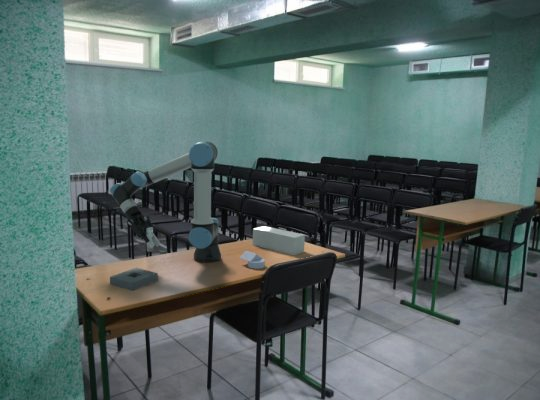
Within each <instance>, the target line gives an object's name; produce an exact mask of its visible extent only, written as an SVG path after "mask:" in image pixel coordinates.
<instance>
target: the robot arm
mask: <svg viewBox="0 0 540 400" xmlns="http://www.w3.org/2000/svg"><path fill="white" fill-rule="evenodd" d="M218 153H219V151H218V147H217V146H216V145H215V143H213V142H210V141H198V142H196V143H194V144H193V145H192V146H191V147H190V150H189V152H188V153H185V154H183V155H181V156H178V157H176V158H174V159H171V160H169V161H167V162H165V163H162V164H161V165H160V164H159V165H158V166H155V167H154V168H153V167H152V168H151V169H149V170H146V171H143V172H141V171H139V170H138V171H136V172H134V173H132V174H131V175H130V177H129V178H127V179H126V181H124V182H123V183H121V182H118V183H115V184H114V185H112V186H111V187H110V189H109V193H110V194H111V196H112V198H113V200H115V202H116V204H118V207H119V208H120V209H121V210H122V212H123V214H124V215H125V217H126V218H127V219H128V222H127V223H126V224H127V225H128V226H129V227H130V228H131V229H132V231H133V232H134V234H135V235H136V237H138V238H140V239H141V240H144V241H145V243H146V244H147V243H148V245H149V246H150V248H153V249H154V247H155V246H156V247H159V245H161V242H160V241H159V239H158V237H157V235H156V234H155V233H156V232H157V230H156V228H155V226H154V225H153V223H152V222H151V219H150V216H148V215H147V216H144V215H143V214H142V211H141V209H140V208H139V207H140V206H138V205H137V204H138V203H136V202H135V200H134V199H133V197H132V196H133V195H134V194H135V193H137V192H138V191H140V190H141V189H144V188H146V187H149V186H151V185H153V184H155V183H158V182H160V181H162V180H165V179H167V178H170V177H172V176H174V175H177V174H179V173H181V172H184V171H187V170H188V169H191V171H192V172H193V219H192V220H190V221H191V222H190V231H189V233H188V240H189V243H190V244H191V245H192V246H193V247H194V248H195V250H194V253H193V260H194V261H196V262H200V263H214V262H219V261H220V260H222V253H221V251H220V246H219V231H220V229H219V228H220V227H219V226H220V223H219V219H218V218H216V217H212V172H213V171H214V170H215V162H216V160H217V158H218ZM147 227H153V241H152V240H151V238H150V237H149V236H148V235H146V228H147Z"/></svg>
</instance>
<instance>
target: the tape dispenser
mask: <svg viewBox="0 0 540 400" xmlns="http://www.w3.org/2000/svg"><path fill="white" fill-rule="evenodd" d="M239 259H240V260H244V261H247V267H248V268H250V269H253V268H254V269H253V270H255V269H256V270H257V269H259V270H260V269H264V268H265V267H264V266H266V263H265V262H266V259H264V258H262V257H261V256H260V255H258V254H257V253H256V252H255V253H254V252H253V251H248V250H244V252H243V253H242V254H241V255H240V256H239ZM263 267H264V268H263Z"/></svg>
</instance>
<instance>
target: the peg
mask: <svg viewBox="0 0 540 400" xmlns="http://www.w3.org/2000/svg"><path fill="white" fill-rule="evenodd" d="M145 233H146V235H148V236H149V237H150V238H151V240H152V241H153V227H147V228H146V230H145ZM146 251H147V252H154V247H153V248H150V246H149V245H148V243H146Z"/></svg>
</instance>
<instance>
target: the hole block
mask: <svg viewBox="0 0 540 400" xmlns="http://www.w3.org/2000/svg"><path fill="white" fill-rule="evenodd" d="M158 280H159V273H158V272H156V271H155V272H154V271H152V270H147V269H143V268H139V267H134V268H132V269H128V270H126V271H123V272H120V273H117V274H114V275H111V276H109V285H112V286H115V287H119V288H123V289H125V290H129V291H135V290H137V289H140V288H142V287H145V286H147V285H149V284H153V283H155V282H158Z"/></svg>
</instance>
